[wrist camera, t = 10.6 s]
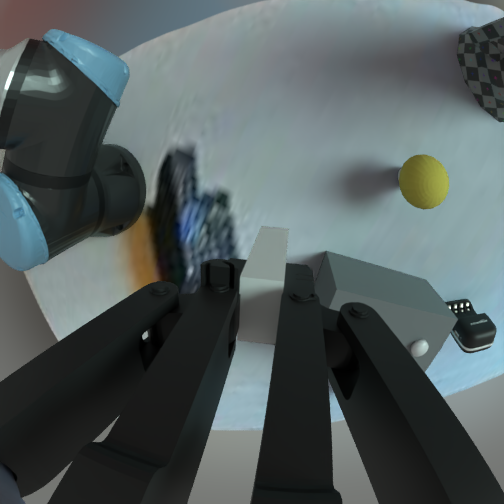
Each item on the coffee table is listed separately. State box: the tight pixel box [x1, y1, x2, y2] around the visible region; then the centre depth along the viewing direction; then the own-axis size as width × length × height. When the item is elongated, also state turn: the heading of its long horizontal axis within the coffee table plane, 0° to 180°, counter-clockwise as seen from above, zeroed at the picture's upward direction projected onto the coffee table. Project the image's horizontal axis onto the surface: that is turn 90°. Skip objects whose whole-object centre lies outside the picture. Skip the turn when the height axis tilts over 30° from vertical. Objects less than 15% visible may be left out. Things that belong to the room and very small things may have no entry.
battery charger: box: [446, 299, 496, 353], centre depth 35 cm, size 7×4×11 cm, turn 97°
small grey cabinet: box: [314, 251, 458, 373], centre depth 37 cm, size 20×12×13 cm, turn 77°
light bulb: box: [398, 155, 449, 209], centre depth 31 cm, size 7×7×10 cm
